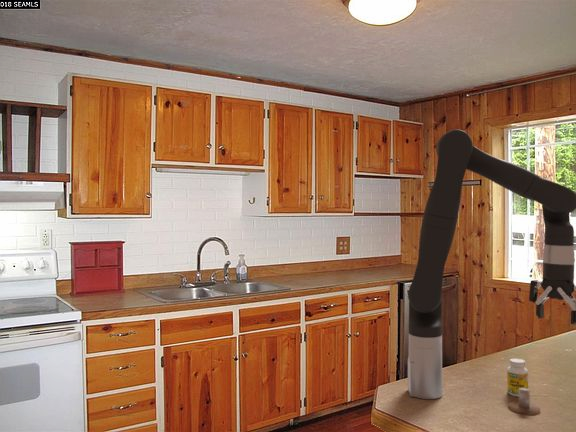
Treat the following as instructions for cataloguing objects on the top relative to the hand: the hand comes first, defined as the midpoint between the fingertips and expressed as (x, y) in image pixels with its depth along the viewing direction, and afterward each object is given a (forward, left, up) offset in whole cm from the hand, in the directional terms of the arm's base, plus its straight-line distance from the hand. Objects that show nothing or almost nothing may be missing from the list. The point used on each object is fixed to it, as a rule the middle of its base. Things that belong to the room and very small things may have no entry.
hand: (556, 321), depth 138 cm
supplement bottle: (-9, +5, -22) cm, 25 cm away
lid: (-11, -6, -22) cm, 25 cm away
